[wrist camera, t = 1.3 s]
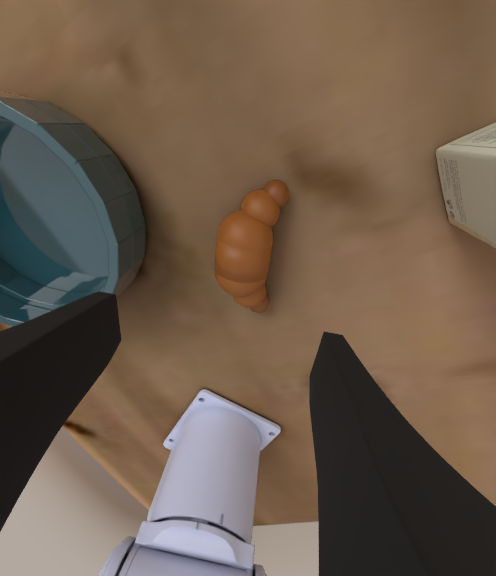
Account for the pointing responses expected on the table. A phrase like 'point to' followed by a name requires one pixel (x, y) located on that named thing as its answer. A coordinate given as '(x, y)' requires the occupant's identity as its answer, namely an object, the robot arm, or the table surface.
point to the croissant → (249, 246)
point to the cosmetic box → (471, 182)
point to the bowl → (61, 212)
